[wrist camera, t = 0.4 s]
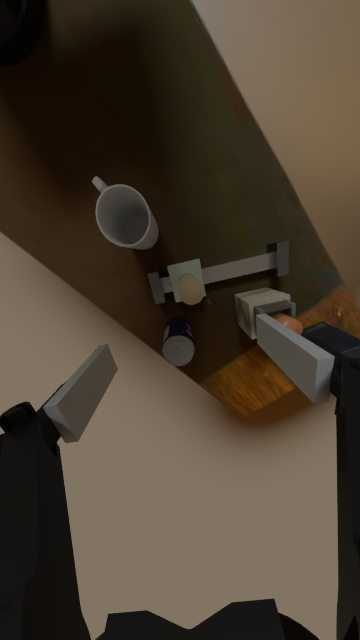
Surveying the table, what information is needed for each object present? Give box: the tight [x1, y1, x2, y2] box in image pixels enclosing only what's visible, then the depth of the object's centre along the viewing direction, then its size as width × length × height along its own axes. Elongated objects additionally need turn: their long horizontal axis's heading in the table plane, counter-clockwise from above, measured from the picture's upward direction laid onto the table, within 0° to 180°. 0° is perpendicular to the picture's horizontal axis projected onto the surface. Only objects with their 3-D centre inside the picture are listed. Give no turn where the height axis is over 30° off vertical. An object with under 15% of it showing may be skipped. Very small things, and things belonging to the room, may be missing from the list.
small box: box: [301, 322, 360, 358], centre depth 36 cm, size 11×6×10 cm, turn 26°
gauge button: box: [272, 313, 303, 335], centre depth 26 cm, size 4×4×3 cm
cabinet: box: [234, 287, 296, 339], centre depth 32 cm, size 7×7×10 cm
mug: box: [92, 176, 159, 250], centre depth 26 cm, size 10×7×12 cm, turn 37°
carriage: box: [167, 259, 206, 305], centre depth 28 cm, size 7×6×14 cm
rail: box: [147, 240, 289, 304], centre depth 33 cm, size 6×26×4 cm, turn 103°
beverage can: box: [162, 316, 195, 366], centre depth 33 cm, size 6×6×12 cm
